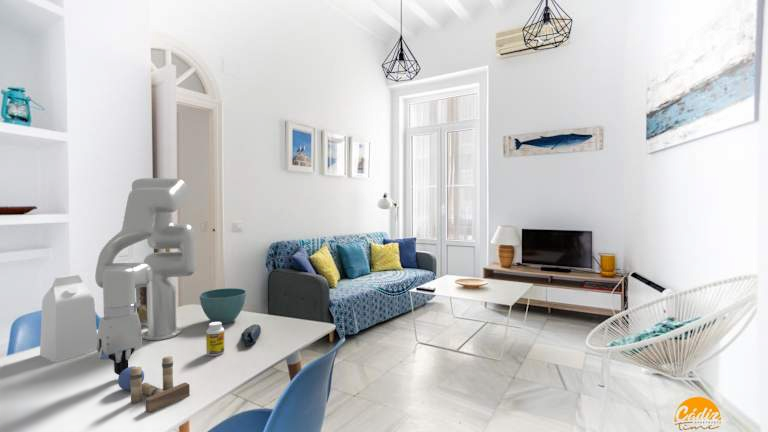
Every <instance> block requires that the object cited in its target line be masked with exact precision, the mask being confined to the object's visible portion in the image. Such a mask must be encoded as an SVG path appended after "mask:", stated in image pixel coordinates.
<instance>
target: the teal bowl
mask: <svg viewBox="0 0 768 432" xmlns="http://www.w3.org/2000/svg"><path fill="white" fill-rule="evenodd" d="M246 296H247V290H245V289H243V288H234V287H232V288H231V287H229V288H227V287H226V288H218V289H217V288H216V289H211V290H206V291H203V292H201V293H199V302H200V305H201V308H202V311H203V312H204V314H205V316H206V318H208V319H209V321H210V322H211V323H212V322H221V323H222V325H226V324H227V325H228V324H230V323H232V322H234V321H235V320H236V319H237V318H238V316H239V315H240V314H241V312H242V310H243V309H244V305H245V301H246Z"/></svg>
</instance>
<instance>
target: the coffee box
mask: <svg viewBox="0 0 768 432" xmlns="http://www.w3.org/2000/svg"><path fill="white" fill-rule="evenodd" d="M135 302H136V303H140V307H138V308H136V312H137V313H138V315H139V319H140V323H141V326H146V324H147V323H148V317H147V285H145V286H143V287H139V288H135Z"/></svg>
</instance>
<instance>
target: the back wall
mask: <svg viewBox="0 0 768 432" xmlns="http://www.w3.org/2000/svg"><path fill="white" fill-rule="evenodd" d="M190 392H191V391H190V383H188V382H183V383H180V384H178V385H174V386H173V388H170V389H168V390H165V391H164V390H163V392H160V393H158V394H156V395H153V396H151V397H150V396H148V397H146V398H145V400H144V401H145V411H146V412H147V413H149V414H151V413H154V412H156V411H158V410H160V409H162V408H164V407H167V406H169V405H171V404H172V405H173V404H174V403H176V402H179V401H181V400H182V399H185V398H187V397H189V396H190V395H191V394H190Z"/></svg>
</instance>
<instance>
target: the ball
mask: <svg viewBox="0 0 768 432" xmlns="http://www.w3.org/2000/svg"><path fill="white" fill-rule="evenodd" d="M134 367H135V366H128V368H126V369H125V370H123V371H122V372H121V373H120V375H118V377H117V378H118V379H117V385H118V386H119V388H121V389H122V390H123V391H131V381H130V369H132V368H134ZM141 371H142V383H144V382H143V381H144V379H145V373H144V372H145V371H143V369H142V368H141Z"/></svg>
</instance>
